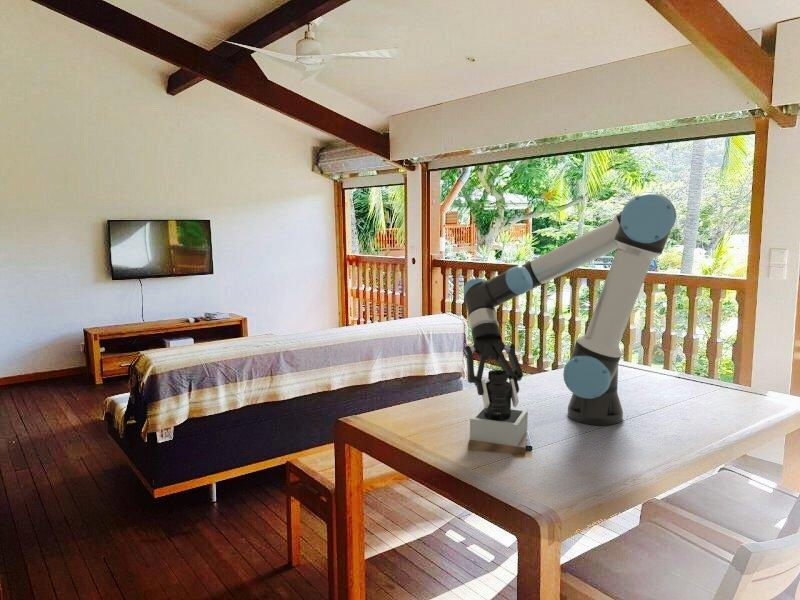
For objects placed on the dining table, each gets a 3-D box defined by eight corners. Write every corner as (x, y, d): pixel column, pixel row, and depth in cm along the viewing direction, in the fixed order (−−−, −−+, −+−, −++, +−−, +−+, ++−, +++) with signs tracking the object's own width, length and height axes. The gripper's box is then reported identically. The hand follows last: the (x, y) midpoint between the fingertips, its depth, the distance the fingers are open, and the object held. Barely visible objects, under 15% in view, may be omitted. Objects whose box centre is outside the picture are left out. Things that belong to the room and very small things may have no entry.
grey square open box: (527, 430, 157) (527, 410, 156) (517, 446, 146) (517, 425, 145) (482, 424, 162) (483, 404, 161) (469, 439, 151) (470, 418, 150)
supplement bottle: (483, 412, 157) (484, 368, 155) (510, 413, 156) (511, 368, 154) (483, 421, 150) (484, 375, 149) (511, 422, 149) (512, 376, 148)
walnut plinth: (526, 436, 159) (526, 427, 159) (525, 457, 146) (525, 447, 145) (474, 432, 162) (474, 424, 162) (468, 452, 149) (468, 443, 149)
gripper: (516, 335, 167) (535, 409, 153) (447, 337, 164) (460, 413, 151) (523, 319, 161) (543, 396, 147) (451, 322, 158) (465, 400, 145)
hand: (501, 404), depth 149 cm, fingers closed on supplement bottle, 7 cm apart
